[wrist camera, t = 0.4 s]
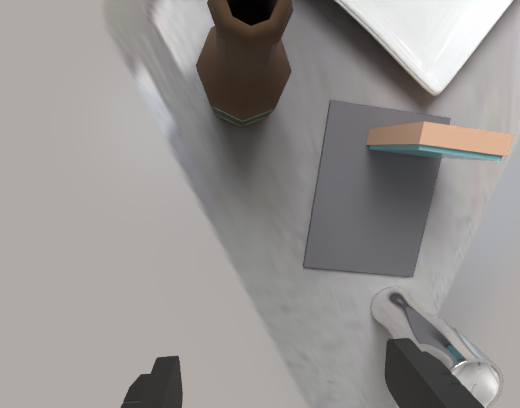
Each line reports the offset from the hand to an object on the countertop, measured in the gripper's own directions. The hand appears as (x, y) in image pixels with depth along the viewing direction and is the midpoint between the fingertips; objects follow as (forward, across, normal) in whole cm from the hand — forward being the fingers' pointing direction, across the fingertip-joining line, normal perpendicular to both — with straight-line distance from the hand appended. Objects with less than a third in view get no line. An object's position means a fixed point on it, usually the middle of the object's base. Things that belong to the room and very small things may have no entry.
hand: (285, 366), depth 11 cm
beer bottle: (+28, +1, -14) cm, 31 cm away
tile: (+27, -20, -8) cm, 35 cm away
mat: (+28, -17, -1) cm, 32 cm away
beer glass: (+28, -20, +16) cm, 38 cm away
